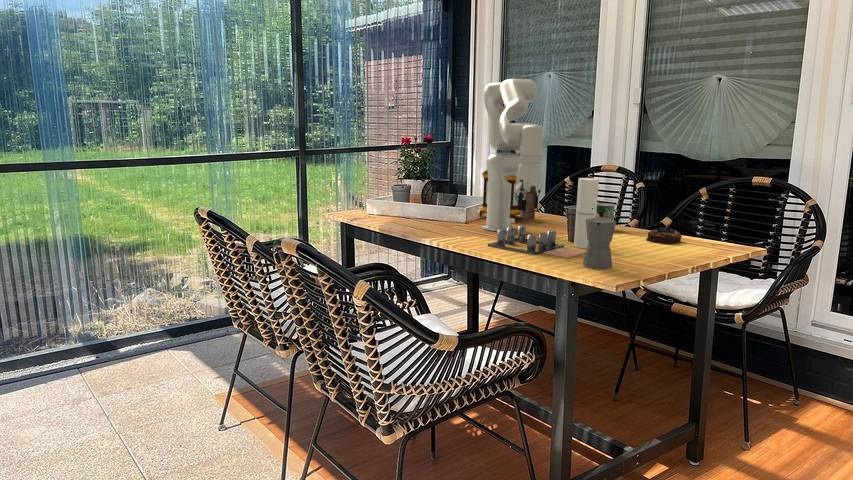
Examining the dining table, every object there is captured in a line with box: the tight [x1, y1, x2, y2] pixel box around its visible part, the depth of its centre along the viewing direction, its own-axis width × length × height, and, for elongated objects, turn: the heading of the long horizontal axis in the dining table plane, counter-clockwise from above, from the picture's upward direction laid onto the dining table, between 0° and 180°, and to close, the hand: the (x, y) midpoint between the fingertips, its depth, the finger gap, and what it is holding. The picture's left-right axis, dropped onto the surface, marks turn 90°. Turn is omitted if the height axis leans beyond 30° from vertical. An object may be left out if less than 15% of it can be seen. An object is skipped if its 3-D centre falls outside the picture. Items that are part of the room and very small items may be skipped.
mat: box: [542, 247, 586, 260], centre depth 229 cm, size 12×10×1 cm
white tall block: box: [573, 177, 600, 249], centre depth 240 cm, size 7×7×25 cm
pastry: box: [646, 226, 682, 245], centre depth 257 cm, size 11×12×6 cm
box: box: [519, 186, 536, 220], centre depth 237 cm, size 6×4×12 cm
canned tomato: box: [596, 202, 615, 220], centre depth 279 cm, size 8×8×11 cm
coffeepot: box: [582, 211, 617, 271], centre depth 210 cm, size 15×9×18 cm, turn 159°
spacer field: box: [487, 225, 565, 256], centre depth 239 cm, size 20×20×6 cm
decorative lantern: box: [478, 169, 521, 219], centre depth 302 cm, size 20×20×30 cm
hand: (527, 209), depth 238 cm, fingers closed on box, 7 cm apart
